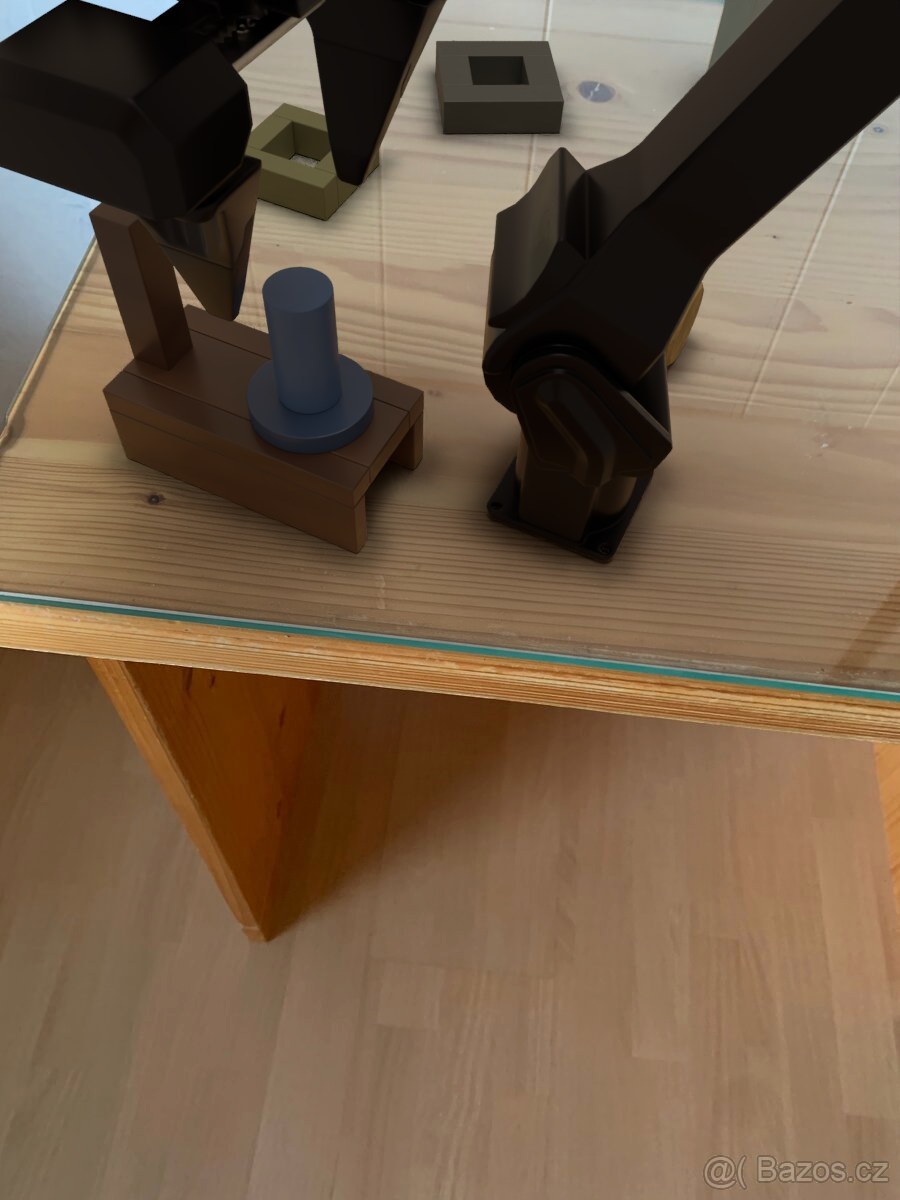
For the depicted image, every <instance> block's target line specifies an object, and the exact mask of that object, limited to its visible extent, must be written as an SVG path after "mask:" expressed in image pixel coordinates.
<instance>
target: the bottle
mask: <svg viewBox="0 0 900 1200" xmlns="http://www.w3.org/2000/svg"><path fill="white" fill-rule="evenodd" d="M772 1H773V0H725V1H724V6H723V9H722V14H721V17H720V21H719V24H718V27H717V33H716V36H715V41H714V45H713V48H712V52H711V56H710V59H709V64H708V66H707V67H708V68H707V71H708V70H709V69H710V68H711V67H712V65H713V64H714V63H715V62H716V61H717V60H718V59H719V58H720V57H721V56H722V55H723V54H724V53H725V51H726V50H727V49H728V48H729V47H730V46H731V45H732V44H733V43H734V42H735V41H736V40H737V39H738V37H739V36H740V35H741V34H742V33H743V32H744V31H745V30H746V29H747V28H748V27H749V26H750V25H751V23H752V22H753V21H754V20H755V19H756V18H757V17H758V16H759V15H760V14H761V13H762V12H763V11H764V9H765V8H766V7H767V6H768V5H769V4H770V3H771V2H772Z"/></svg>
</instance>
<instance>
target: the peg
mask: <svg viewBox="0 0 900 1200" xmlns="http://www.w3.org/2000/svg"><path fill="white" fill-rule="evenodd" d="M261 294H262V301H263V308H264V313H265V320H266V327H267V333H268V334H269V340H270V346H271V352H272V360H270V361H269V362H267V363H266V364H264V365H263V366H262V367H261V368H260V369H258V371H257V372H256V373H255V374H254V375H253V377H252V378H251V380H250V382H249V385H248V388H247V393H246V400H247V406H248V411H249V416H250V420H251V423H252V425H253V427H254V429H255V430H256V432H257V433H258V434H259V435H260V436H261V437H262V438H263V439H264V440H265V441H267V442H268V443H270V444H271V445H273V446H275V447H277V448H280V449H282V450H285V451H289V452H294V453H301V454H317V453H324V452H329V451H333V450H336V449H339V448H341V447H343V446H346V445H348V444H349V443H351V442H353V441H354V440H355V439H357V438H358V437H359V436H360V435H361V434H362V433H363V432H364V431H365V430H366V428H367V427H368V426H369V424H370V422H371V420H372V417H373V413H374V394H373V385H372V382H371V379H370V377H369V376H368V374H367V372H366V371H365V370H364V369H365V368H364V367H362V365H360V364H359V363H358V362H357V361H355V360H354V359H352V358H350V357H348V356H347V355H344V354H341V353H339V352H340V351H339V337H338V328H337V327H338V326H337V325H338V324H337V313H336V303H335V290H334V283H333V282H332V280H331V278H329V276H328V275H326V274H325V273H324V272H323V271H321V270H318V269H317V268H312V267H308V266H291V267H290V266H289V267H285V268H282V269H280V270H277V271H275V272H274V273H272V274H271V275H269V276H268V277H267V278H266V279H265V281H264V282H263V284H262V289H261Z"/></svg>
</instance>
